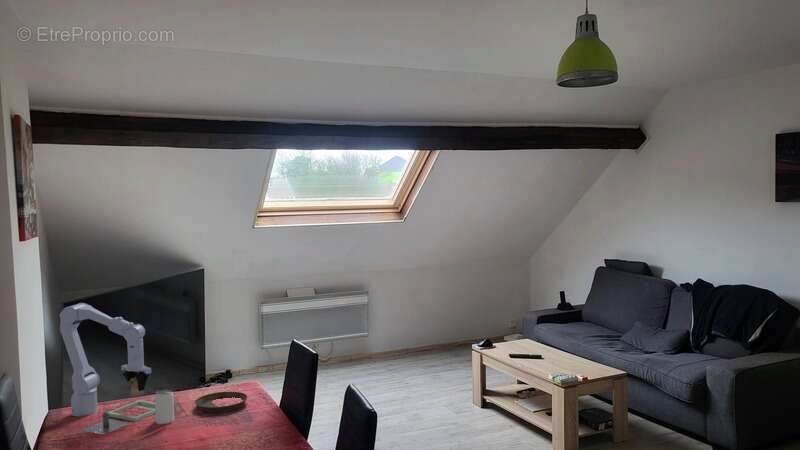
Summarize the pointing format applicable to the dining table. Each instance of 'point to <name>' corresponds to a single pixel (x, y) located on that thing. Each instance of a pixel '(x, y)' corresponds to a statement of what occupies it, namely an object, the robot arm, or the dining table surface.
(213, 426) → the dining table surface
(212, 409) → the plant saucer
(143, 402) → the tray
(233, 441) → the dining table surface
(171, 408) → the can
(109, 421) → the square base plate
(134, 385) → the sleeve
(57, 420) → the dining table surface
